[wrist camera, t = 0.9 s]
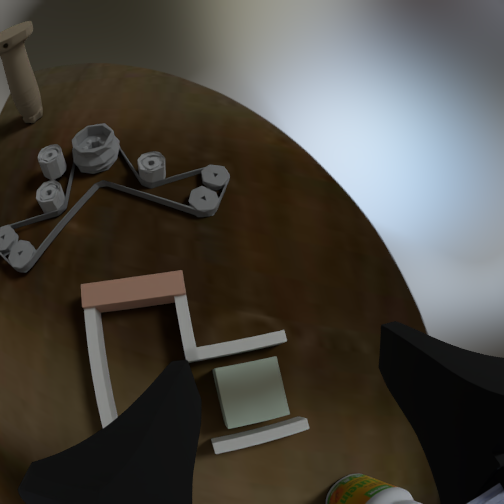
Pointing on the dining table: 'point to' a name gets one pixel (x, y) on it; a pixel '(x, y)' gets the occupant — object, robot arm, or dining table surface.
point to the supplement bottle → (366, 492)
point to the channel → (192, 355)
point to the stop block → (133, 292)
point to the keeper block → (250, 392)
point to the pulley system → (94, 161)
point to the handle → (20, 71)
